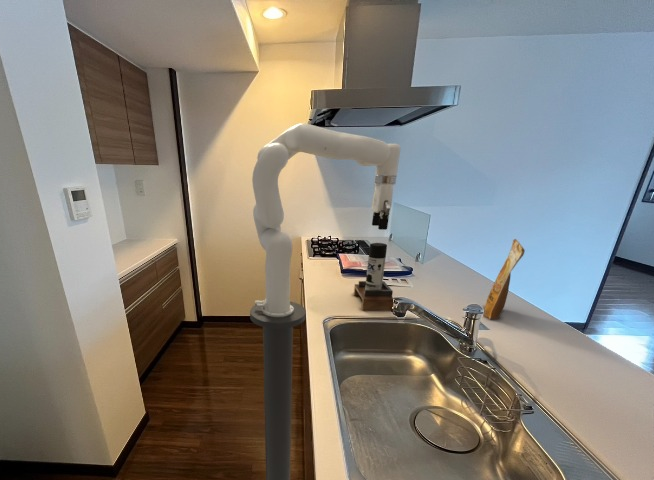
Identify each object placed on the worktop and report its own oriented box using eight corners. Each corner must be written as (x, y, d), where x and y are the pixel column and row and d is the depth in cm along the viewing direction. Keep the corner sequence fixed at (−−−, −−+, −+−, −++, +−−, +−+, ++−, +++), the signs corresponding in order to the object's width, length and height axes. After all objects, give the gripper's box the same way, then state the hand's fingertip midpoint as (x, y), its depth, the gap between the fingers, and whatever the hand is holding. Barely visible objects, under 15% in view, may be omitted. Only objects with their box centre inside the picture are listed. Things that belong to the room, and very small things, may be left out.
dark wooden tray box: (362, 310, 128) (364, 293, 125) (353, 294, 145) (355, 279, 142) (392, 310, 127) (395, 293, 125) (380, 294, 144) (382, 279, 141)
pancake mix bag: (505, 306, 130) (524, 238, 120) (503, 323, 116) (526, 247, 105) (485, 303, 134) (503, 236, 123) (482, 319, 119) (501, 245, 109)
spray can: (361, 290, 135) (366, 243, 128) (373, 287, 138) (378, 241, 131) (372, 295, 130) (378, 246, 122) (384, 292, 133) (391, 244, 125)
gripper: (369, 180, 126) (364, 224, 133) (381, 181, 110) (374, 230, 116) (388, 180, 126) (382, 224, 132) (403, 181, 110) (395, 231, 116)
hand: (379, 227), depth 124 cm, fingers open, 9 cm apart
